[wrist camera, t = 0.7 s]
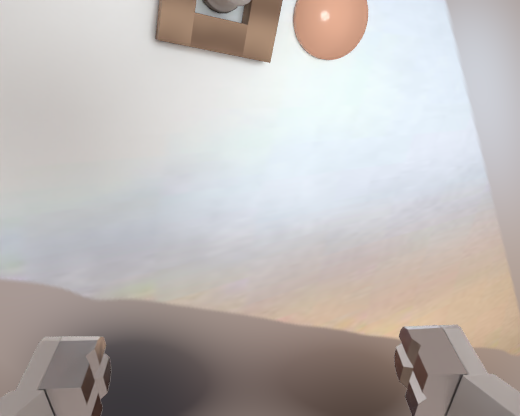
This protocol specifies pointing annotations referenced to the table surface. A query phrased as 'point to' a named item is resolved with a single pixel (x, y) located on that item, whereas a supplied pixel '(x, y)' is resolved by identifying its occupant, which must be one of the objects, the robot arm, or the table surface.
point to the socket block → (221, 28)
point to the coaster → (330, 26)
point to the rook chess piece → (225, 5)
